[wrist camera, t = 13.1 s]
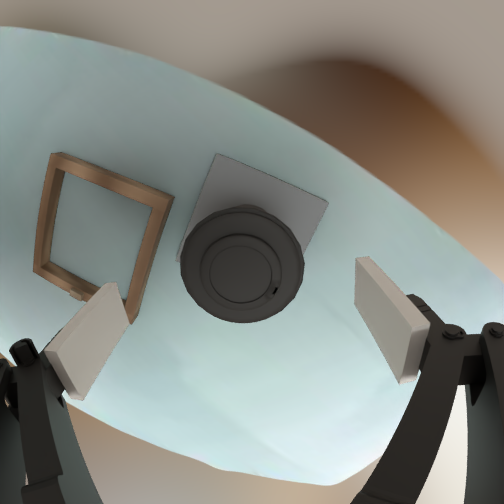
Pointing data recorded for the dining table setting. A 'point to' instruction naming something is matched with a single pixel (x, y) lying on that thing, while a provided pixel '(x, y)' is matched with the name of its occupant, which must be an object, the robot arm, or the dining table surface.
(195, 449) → the dining table surface
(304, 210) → the pad
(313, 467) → the dining table surface
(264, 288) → the coffee cup
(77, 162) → the wooden square frame
